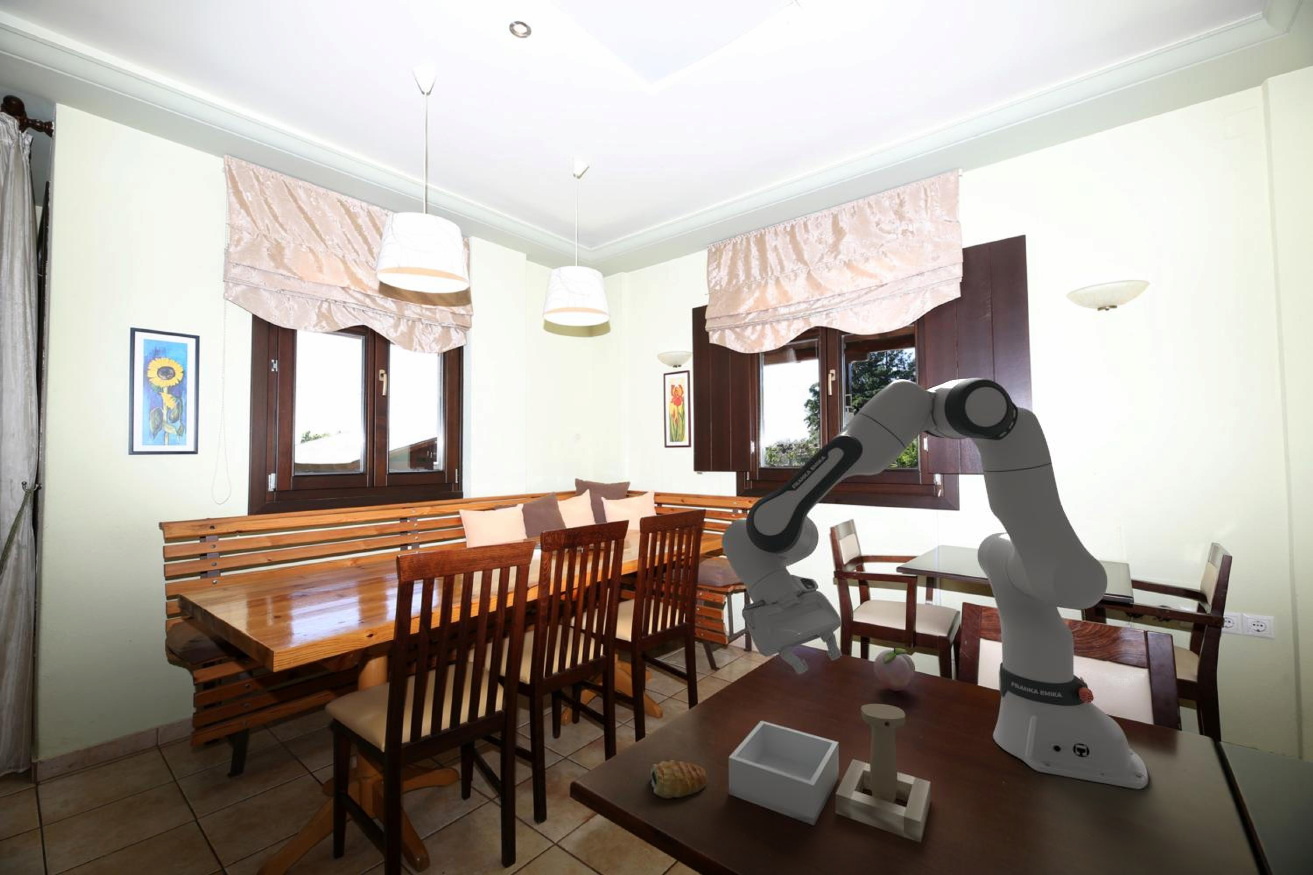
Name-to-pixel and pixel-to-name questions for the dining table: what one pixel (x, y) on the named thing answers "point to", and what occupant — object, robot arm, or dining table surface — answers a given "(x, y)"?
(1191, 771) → the dining table surface
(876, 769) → the handle
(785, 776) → the bin
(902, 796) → the socket block
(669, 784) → the pastry
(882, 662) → the decorative fruit
